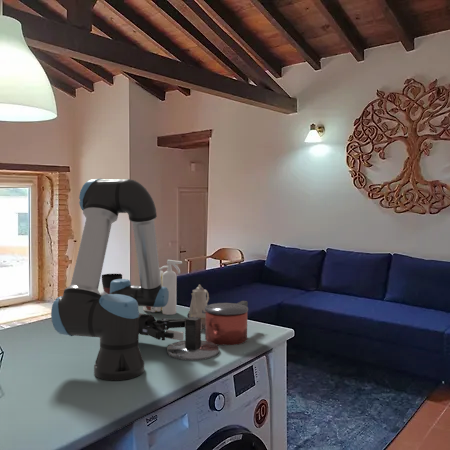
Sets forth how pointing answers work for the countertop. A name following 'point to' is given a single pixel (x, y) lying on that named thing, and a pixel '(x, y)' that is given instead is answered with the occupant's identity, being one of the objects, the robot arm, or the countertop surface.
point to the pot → (226, 323)
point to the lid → (192, 343)
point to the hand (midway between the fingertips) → (192, 331)
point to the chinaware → (199, 304)
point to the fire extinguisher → (170, 287)
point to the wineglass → (109, 281)
